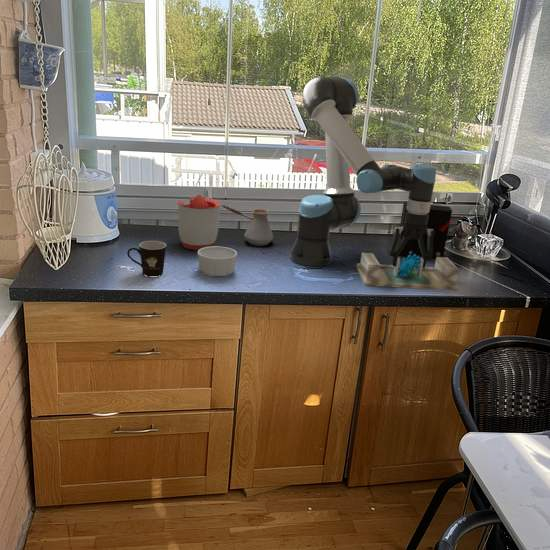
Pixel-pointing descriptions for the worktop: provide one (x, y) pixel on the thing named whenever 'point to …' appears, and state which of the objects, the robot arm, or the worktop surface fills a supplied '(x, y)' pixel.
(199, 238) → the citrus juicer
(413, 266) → the gear
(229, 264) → the ramekin
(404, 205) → the electrical component
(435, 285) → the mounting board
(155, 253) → the coffee mug
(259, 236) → the coffee pot
